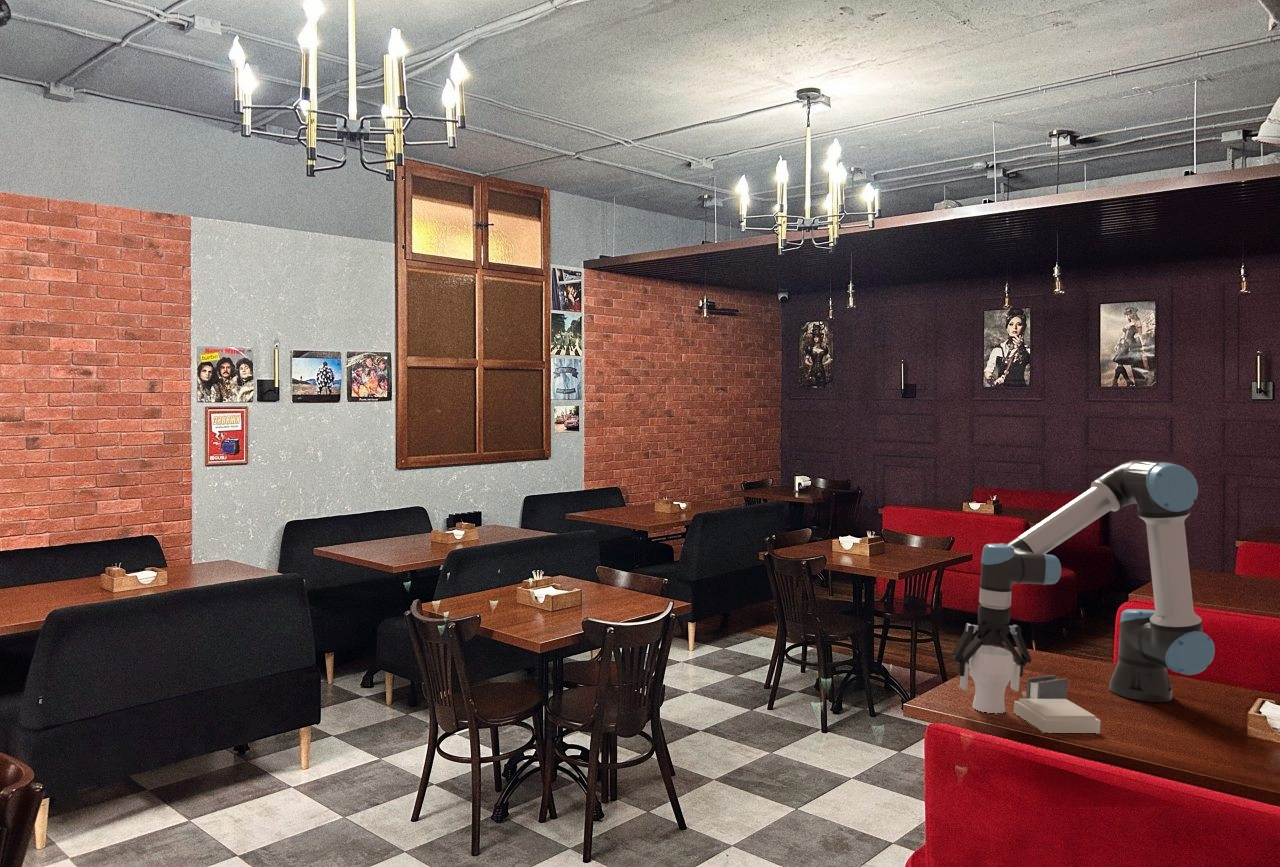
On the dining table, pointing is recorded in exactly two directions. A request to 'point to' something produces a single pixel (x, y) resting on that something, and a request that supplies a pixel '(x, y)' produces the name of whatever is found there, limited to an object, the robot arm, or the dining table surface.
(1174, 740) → the dining table surface
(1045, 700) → the pedestal
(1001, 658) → the cup
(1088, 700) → the dining table surface
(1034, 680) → the napkin holder
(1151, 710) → the dining table surface
